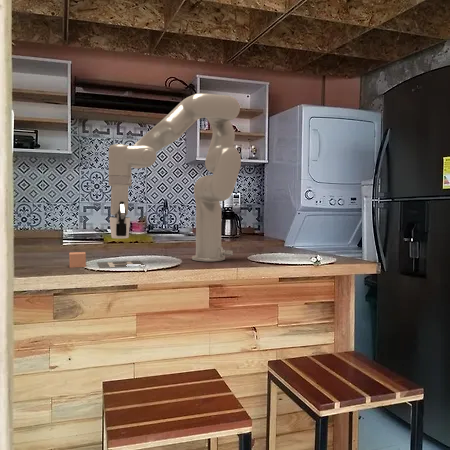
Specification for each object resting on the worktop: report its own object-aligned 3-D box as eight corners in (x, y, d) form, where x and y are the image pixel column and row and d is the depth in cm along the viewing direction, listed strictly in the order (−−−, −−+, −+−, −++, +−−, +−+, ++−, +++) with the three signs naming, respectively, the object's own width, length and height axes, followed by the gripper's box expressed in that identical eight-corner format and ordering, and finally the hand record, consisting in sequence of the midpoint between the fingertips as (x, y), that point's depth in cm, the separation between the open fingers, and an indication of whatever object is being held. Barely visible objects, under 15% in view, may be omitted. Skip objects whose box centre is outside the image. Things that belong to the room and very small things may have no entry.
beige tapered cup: (125, 238, 148) (125, 217, 148) (105, 238, 150) (105, 217, 149) (133, 237, 155) (133, 217, 155) (115, 236, 156) (115, 216, 156)
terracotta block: (85, 266, 152) (85, 252, 151) (85, 269, 147) (85, 253, 147) (69, 267, 150) (69, 252, 150) (69, 269, 145) (69, 254, 145)
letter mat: (139, 262, 162) (139, 260, 162) (146, 268, 149) (146, 266, 149) (96, 264, 157) (96, 262, 157) (99, 270, 144) (99, 268, 144)
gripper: (106, 182, 158) (106, 233, 159) (111, 180, 142) (111, 237, 143) (128, 182, 161) (127, 233, 162) (135, 181, 145) (135, 237, 146)
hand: (120, 234), depth 152 cm, fingers closed on beige tapered cup, 6 cm apart
